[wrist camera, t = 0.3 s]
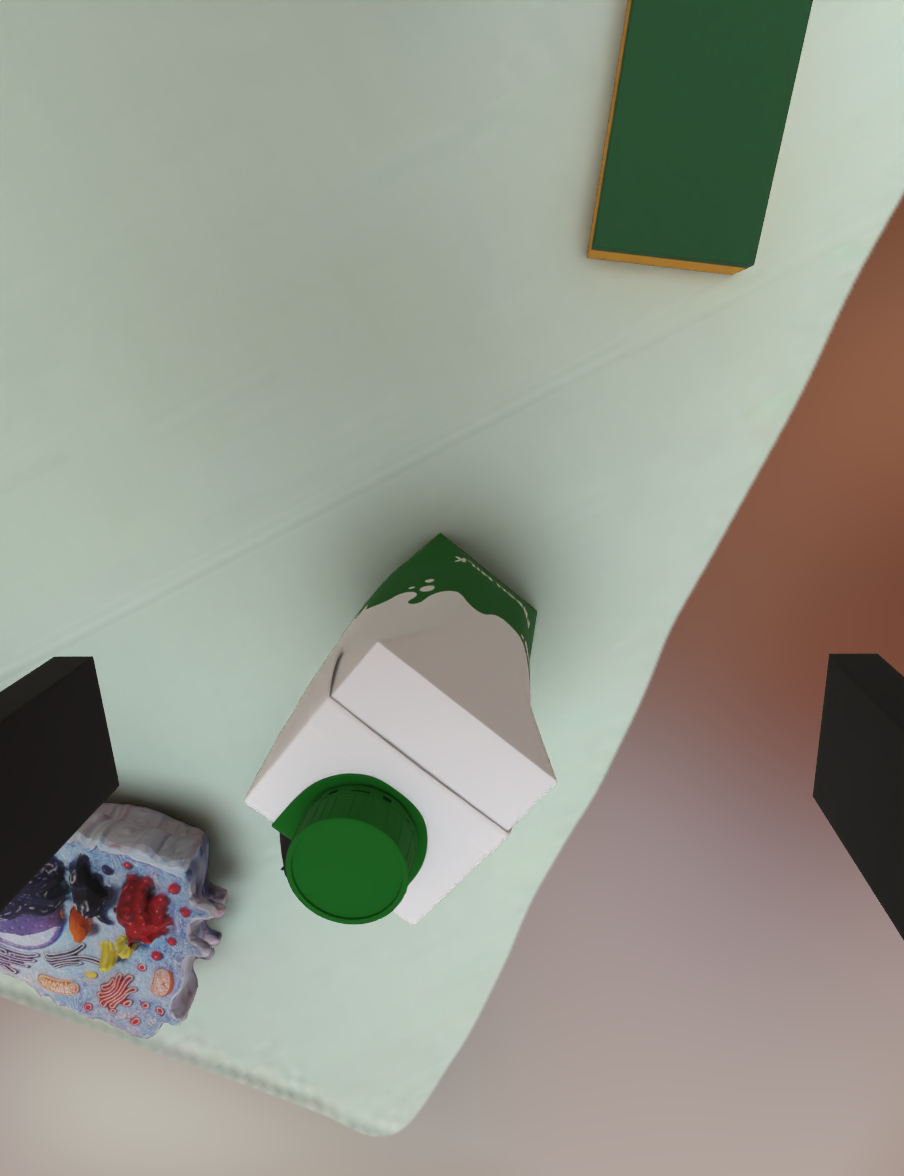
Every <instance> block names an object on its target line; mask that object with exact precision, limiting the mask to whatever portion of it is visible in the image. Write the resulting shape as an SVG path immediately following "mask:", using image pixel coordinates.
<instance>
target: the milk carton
mask: <svg viewBox="0 0 904 1176" xmlns="http://www.w3.org/2000/svg"><path fill="white" fill-rule="evenodd" d="M536 616H537V611H536V610H535V609H533V608H532V607H531V606H530V605H529V604H527V603H526V602H525V601H524V600H522V599H521V598H520V597H519V596H517V595H516V594H515V593H514V592H512V591H511V590H510V589H509V588H508V587H506V586H505V585H504V584H503V583H501V582H500V581H499V580H498V579H496V578H495V577H494V576H493V575H491V574H490V573H489V572H488V571H487V570H485V569H484V568H483V567H482V566H480V565H479V564H478V563H477V562H475V561H474V560H473V559H472V558H470V557H469V556H468V555H467V554H466V553H464V552H463V551H462V550H461V549H459V548H458V547H457V546H456V545H454V544H453V543H452V542H451V541H449V540H448V539H447V538H446V537H445V536H443V535H442V534H441V533H440V534H438V535H437V536H436V537H435V538H434V539H433V540H432V541H430V542H429V543H428V544H427V545H426V546H424V547H423V548H422V549H421V550H420V551H419V552H417V553H416V554H415V555H414V556H413V557H412V558H410V559H409V560H408V561H407V562H406V563H404V564H403V565H402V566H401V567H399V568H398V569H397V570H396V571H395V572H393V573H392V574H391V575H390V576H389V577H388V578H387V579H386V580H385V581H384V582H383V584H382V585H381V586H380V587H379V588H378V589H377V591H376V592H375V593H374V594H373V595H372V597H371V598H370V599H369V600H368V601H367V603H366V604H365V605H364V606H363V608H362V609H361V610H360V611H359V613H358V614H357V615H356V617H355V618H354V620H353V621H352V622H351V624H350V625H349V627H348V628H347V630H346V631H345V633H344V634H343V635H342V637H341V638H340V640H339V641H338V643H337V644H336V646H335V647H334V649H333V650H332V652H331V653H330V654H329V656H328V657H327V659H326V660H325V662H324V663H323V665H322V666H321V668H320V669H319V671H318V672H317V674H316V675H315V677H314V678H313V680H312V681H311V682H310V684H309V686H308V687H307V689H306V690H305V692H304V694H303V695H302V697H301V699H300V701H299V703H298V705H297V706H296V708H295V710H294V712H293V714H292V715H291V717H290V718H289V720H288V721H287V723H286V725H285V726H284V728H283V729H282V731H281V733H280V734H279V736H278V738H277V740H276V741H275V743H274V745H273V747H272V748H271V750H270V752H269V754H268V756H267V757H266V759H265V761H264V763H263V765H262V767H261V768H260V770H259V772H258V774H257V776H256V778H255V779H254V781H253V783H252V785H251V787H250V789H249V791H248V792H247V794H246V796H245V798H244V801H245V803H246V804H248V805H249V806H250V807H251V808H253V809H254V810H255V811H257V812H258V813H260V814H261V815H263V816H264V817H266V818H268V819H269V820H270V821H272V822H273V824H272V827H274V828H275V829H276V830H278V831H279V832H280V833H282V834H283V835H285V836H286V837H288V838H289V839H291V842H290V845H289V847H288V851H287V855H286V861H285V868H286V875H287V879H288V882H289V884H290V887H291V889H292V890H293V892H294V894H295V895H296V896H297V898H298V899H299V900H300V901H301V902H302V903H303V904H304V905H305V906H306V907H307V908H308V909H310V910H311V911H312V912H314V913H315V914H317V915H319V916H321V917H323V918H325V919H328V920H331V921H334V922H338V923H343V924H364V923H369V922H373V921H376V920H378V919H381V918H383V917H385V916H386V915H388V914H389V913H391V912H392V911H394V912H395V913H396V914H397V915H399V916H400V917H401V918H403V919H404V920H406V921H407V922H408V923H410V924H412V925H415V924H416V923H417V922H418V921H419V920H420V919H421V918H422V917H424V916H425V915H426V914H427V913H428V912H429V911H430V910H431V909H432V908H433V907H434V906H435V905H436V904H437V903H438V902H439V901H440V900H441V899H442V898H443V897H444V896H445V895H447V894H448V893H449V892H450V891H451V890H452V889H453V888H454V887H455V886H456V885H457V884H458V883H459V882H460V881H461V880H462V879H463V878H464V877H465V876H466V875H467V874H468V873H469V872H470V871H472V870H473V869H474V868H475V867H476V866H477V865H478V864H479V863H480V862H481V861H482V860H483V859H484V858H485V857H486V856H488V855H490V854H491V853H492V852H493V851H494V850H495V849H496V848H497V847H498V846H499V845H500V844H501V843H502V842H503V841H504V840H505V839H506V838H507V837H508V836H509V834H510V832H511V830H512V828H513V826H514V825H515V824H516V823H517V822H518V821H519V820H520V819H521V818H522V817H523V816H524V815H525V814H526V813H527V812H528V811H529V810H530V809H531V808H532V807H533V806H534V805H535V804H536V803H537V802H538V801H539V800H540V799H541V798H542V797H543V796H544V795H545V794H546V793H547V792H548V791H549V790H550V789H551V788H552V787H553V786H554V785H555V784H556V783H557V780H556V777H555V774H554V772H553V769H552V766H551V763H550V760H549V758H548V755H547V752H546V749H545V746H544V744H543V741H542V738H541V735H540V732H539V729H538V727H537V724H536V721H535V718H534V715H533V712H532V709H531V706H530V655H531V649H532V642H533V636H534V629H535V623H536Z"/></svg>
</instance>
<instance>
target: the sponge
mask: <svg viewBox="0 0 904 1176" xmlns="http://www.w3.org/2000/svg"><path fill="white" fill-rule="evenodd" d="M812 2H813V0H628V4H627V10H626V17H625V23H624V29H623V35H622V41H621V48H620V54H619V60H618V66H617V72H616V79H615V85H614V91H613V97H612V103H611V110H610V116H609V122H608V128H607V134H606V141H605V147H604V153H603V159H602V166H601V172H600V178H599V184H598V190H597V197H596V203H595V209H594V215H593V221H592V228H591V234H590V240H589V246H588V252H587V257H588V258H595V259H603V260H612V261H620V262H628V263H637V264H645V265H654V266H662V267H671V268H679V269H687V270H696V271H704V272H713V273H721V274H729V275H733V274H735V273H737V272H740V271H742V270H744V269H747V268H748V267H751V266H753V265H754V262H755V258H756V253H757V249H758V244H759V240H760V235H761V231H762V226H763V222H764V217H765V213H766V208H767V204H768V199H769V195H770V190H771V186H772V181H773V177H774V172H775V168H776V163H777V159H778V154H779V150H780V145H781V141H782V136H783V132H784V127H785V123H786V118H787V114H788V109H789V105H790V100H791V96H792V91H793V87H794V82H795V78H796V73H797V69H798V64H799V60H800V55H801V51H802V46H803V42H804V37H805V33H806V28H807V24H808V19H809V15H810V11H811V6H812Z"/></svg>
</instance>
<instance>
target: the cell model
mask: <svg viewBox="0 0 904 1176" xmlns="http://www.w3.org/2000/svg"><path fill="white" fill-rule="evenodd" d="M208 859H209V839H208V837H207V835H206V833H205V831H204V830H202V829H200V828H196V827H192V826H190V825H188V824H186V823H184V822H182V821H178V820H175V819H173V818H172V817H170V816H168V815H166V814H164V813H161V812H158V811H156V810H153V809H150V808H147V807H140V806H134V805H131V804H116V803H103V804H102V805H101V806H100V807H99V808H98V809H97V810H96V811H95V812H94V813H93V814H92V815H91V816H90V817H89V819H88V820H87V821H86V822H85V823H84V824H83V825H82V826H81V827H80V828H79V829H78V830H77V831H76V832H75V834H74V835H73V836H72V837H71V838H70V839H69V840H68V841H67V842H66V843H65V844H64V845H63V846H62V847H61V849H60V850H59V851H58V852H57V853H56V854H55V855H54V856H53V857H52V858H51V859H50V860H49V861H48V862H47V864H46V865H45V866H44V867H43V868H42V869H41V870H40V871H39V872H38V873H37V874H36V875H35V876H34V877H33V879H32V880H31V881H30V882H29V883H28V884H27V885H26V886H25V887H24V888H23V889H22V890H21V891H20V893H19V894H18V895H17V896H16V897H15V898H14V899H13V900H12V901H11V902H10V903H9V904H8V905H7V906H6V908H5V909H4V910H3V911H2V912H1V913H0V971H1V972H2V973H3V974H6V975H9V976H12V977H15V978H18V979H20V980H22V981H24V982H25V983H27V984H28V985H30V986H31V987H33V988H34V989H35V990H36V992H37V993H38V994H39V995H40V996H49V997H50V998H51V999H52V1000H53V1001H54V1003H55V1004H56V1005H59V1006H66V1007H68V1008H70V1009H72V1010H74V1011H76V1012H78V1013H80V1014H82V1015H84V1016H87V1017H89V1018H91V1019H100V1020H103V1021H105V1022H107V1023H109V1024H111V1025H112V1026H115V1027H117V1028H120V1029H122V1030H125V1031H126V1032H128V1033H129V1034H131V1035H134V1036H137V1037H141V1038H146V1039H148V1038H150V1037H151V1036H153V1035H154V1034H155V1033H156V1032H157V1031H158V1030H159V1029H160V1027H161V1026H162V1024H163V1023H169V1024H171V1025H180V1024H181V1023H182V1022H183V1021H184V1020H185V1019H186V1018H187V1015H188V1011H189V1009H190V1007H191V1004H192V1002H193V1000H194V997H195V994H196V991H197V988H198V980H197V977H196V974H195V972H194V969H193V964H194V960H195V959H198V958H200V959H206V960H209V959H211V958H212V957H213V956H214V953H215V952H214V948H212V947H211V946H217V945H219V942H220V940H221V937H222V935H221V933H220V932H218V931H215V930H211V929H210V928H209V927H208V926H207V925H206V921H205V920H209V919H211V918H221V917H222V915H223V914H224V913H225V909H226V907H225V906H224V905H222V904H221V903H224V902H225V901H226V900H227V898H228V892H227V890H226V889H224V888H221V887H218V886H215V885H213V884H212V883H211V882H210V881H209V880H208Z"/></svg>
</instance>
